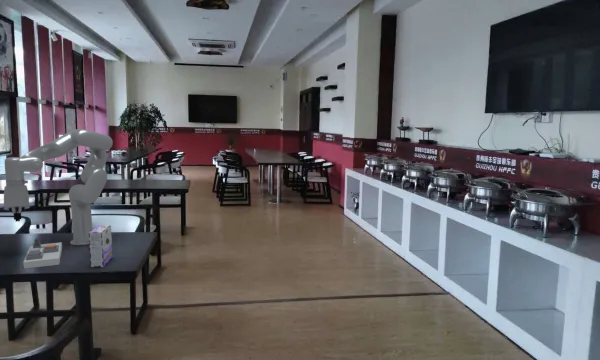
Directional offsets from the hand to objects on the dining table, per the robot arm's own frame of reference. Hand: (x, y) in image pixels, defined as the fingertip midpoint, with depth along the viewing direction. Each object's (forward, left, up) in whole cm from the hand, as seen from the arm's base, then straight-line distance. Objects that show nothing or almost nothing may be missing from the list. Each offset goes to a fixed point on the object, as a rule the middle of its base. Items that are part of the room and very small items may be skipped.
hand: (17, 220), depth 221 cm
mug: (-35, +13, -18) cm, 41 cm away
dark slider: (-7, -1, -14) cm, 16 cm away
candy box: (-36, +28, -18) cm, 49 cm away
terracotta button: (-14, +8, -14) cm, 21 cm away
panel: (-11, +8, -18) cm, 22 cm away
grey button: (-8, +17, -13) cm, 23 cm away
